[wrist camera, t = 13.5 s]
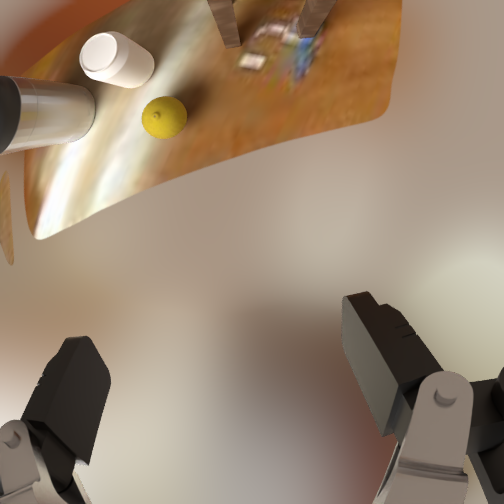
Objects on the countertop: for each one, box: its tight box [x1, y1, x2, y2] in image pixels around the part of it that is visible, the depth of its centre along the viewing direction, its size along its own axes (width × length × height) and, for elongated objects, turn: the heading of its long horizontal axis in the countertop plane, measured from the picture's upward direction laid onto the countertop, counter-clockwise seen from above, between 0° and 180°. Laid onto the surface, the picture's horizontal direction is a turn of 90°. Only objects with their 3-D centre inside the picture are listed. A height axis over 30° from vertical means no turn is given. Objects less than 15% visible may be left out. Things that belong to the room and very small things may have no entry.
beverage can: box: [80, 31, 154, 88], centre depth 30 cm, size 6×6×12 cm
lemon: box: [142, 96, 187, 139], centre depth 35 cm, size 6×6×8 cm
